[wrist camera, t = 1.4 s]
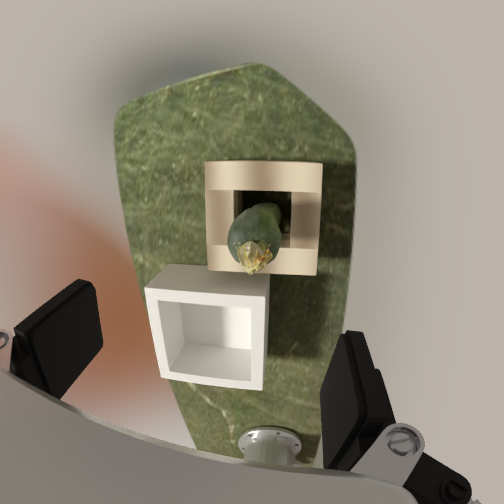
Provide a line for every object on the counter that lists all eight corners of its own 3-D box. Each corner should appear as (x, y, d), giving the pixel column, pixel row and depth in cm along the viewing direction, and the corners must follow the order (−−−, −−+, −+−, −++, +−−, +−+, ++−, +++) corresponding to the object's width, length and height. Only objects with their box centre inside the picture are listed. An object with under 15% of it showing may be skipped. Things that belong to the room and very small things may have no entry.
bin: (270, 268, 39) (265, 296, 32) (267, 354, 44) (262, 390, 36) (168, 263, 41) (144, 287, 33) (178, 345, 45) (161, 377, 38)
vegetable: (251, 228, 38) (213, 304, 19) (246, 194, 36) (198, 238, 18) (286, 223, 37) (282, 298, 18) (281, 189, 36) (273, 230, 17)
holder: (317, 162, 34) (322, 163, 29) (312, 257, 38) (315, 275, 32) (218, 160, 36) (204, 161, 30) (219, 253, 39) (208, 270, 34)
